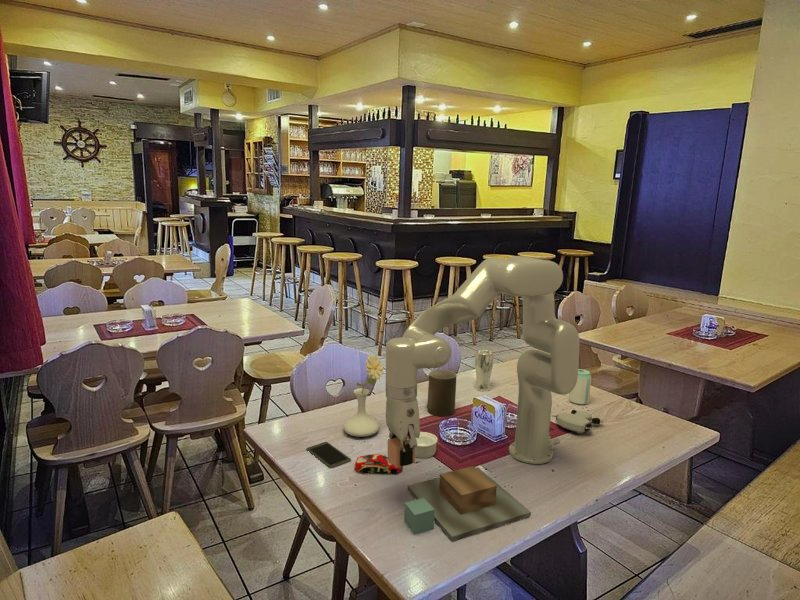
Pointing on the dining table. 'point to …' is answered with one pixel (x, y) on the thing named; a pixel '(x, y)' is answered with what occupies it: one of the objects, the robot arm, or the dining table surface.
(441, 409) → the pillar candle
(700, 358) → the dining table surface
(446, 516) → the tower base
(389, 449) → the terracotta brick
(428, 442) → the ramekin
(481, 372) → the beer glass
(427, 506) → the teal-grey brick
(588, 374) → the can
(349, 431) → the flower in vase
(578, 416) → the robot toy
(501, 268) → the robot arm
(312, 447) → the cell phone
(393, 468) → the race car
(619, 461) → the dining table surface
